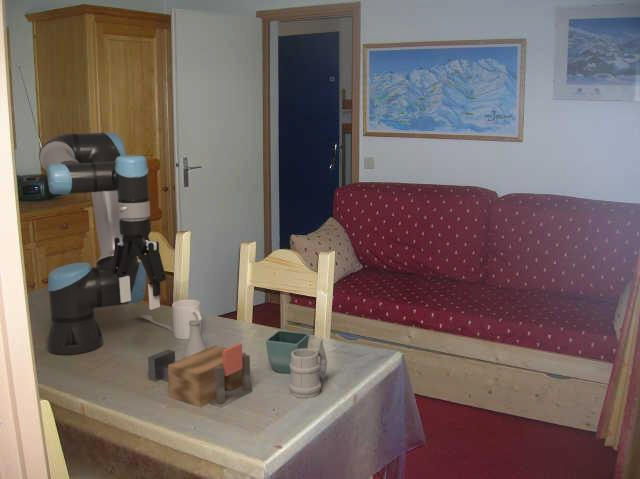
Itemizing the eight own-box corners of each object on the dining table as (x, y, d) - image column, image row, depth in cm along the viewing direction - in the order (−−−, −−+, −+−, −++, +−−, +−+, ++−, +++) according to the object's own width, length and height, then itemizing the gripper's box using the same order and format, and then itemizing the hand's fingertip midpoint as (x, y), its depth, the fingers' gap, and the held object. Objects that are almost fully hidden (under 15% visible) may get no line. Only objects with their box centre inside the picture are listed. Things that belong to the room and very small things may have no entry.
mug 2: (282, 393, 165) (281, 345, 163) (313, 378, 174) (313, 332, 172) (306, 401, 161) (306, 352, 158) (338, 385, 170) (337, 338, 167)
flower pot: (310, 365, 182) (309, 333, 181) (298, 378, 174) (297, 344, 173) (279, 362, 185) (278, 329, 184) (265, 374, 177) (265, 340, 175)
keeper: (223, 375, 160) (222, 350, 159) (239, 367, 164) (238, 343, 163) (226, 376, 159) (225, 351, 158) (242, 368, 164) (241, 344, 162)
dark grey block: (149, 380, 174) (147, 357, 173) (169, 371, 180) (168, 349, 179) (184, 391, 167) (183, 367, 166) (204, 381, 173) (203, 358, 172)
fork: (173, 340, 212) (173, 331, 211) (132, 319, 224) (132, 311, 224) (180, 337, 214) (180, 329, 213) (139, 317, 226) (139, 309, 226)
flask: (204, 362, 186) (202, 326, 184) (178, 360, 187) (176, 324, 185) (213, 352, 193) (211, 318, 191) (188, 351, 194) (187, 316, 192)
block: (169, 397, 164) (167, 360, 162) (216, 375, 177) (215, 341, 175) (213, 411, 156) (211, 373, 154) (259, 387, 169) (258, 352, 167)
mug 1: (189, 344, 199) (188, 311, 197) (168, 334, 208) (167, 303, 206) (213, 338, 204) (212, 306, 203) (192, 329, 213) (190, 298, 211)
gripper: (92, 216, 176) (99, 301, 180) (154, 224, 163) (160, 315, 168) (116, 212, 182) (122, 294, 186) (178, 220, 169) (182, 308, 174)
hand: (140, 304), depth 177 cm, fingers open, 10 cm apart
